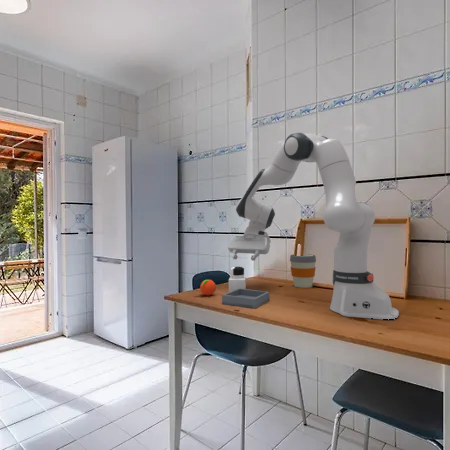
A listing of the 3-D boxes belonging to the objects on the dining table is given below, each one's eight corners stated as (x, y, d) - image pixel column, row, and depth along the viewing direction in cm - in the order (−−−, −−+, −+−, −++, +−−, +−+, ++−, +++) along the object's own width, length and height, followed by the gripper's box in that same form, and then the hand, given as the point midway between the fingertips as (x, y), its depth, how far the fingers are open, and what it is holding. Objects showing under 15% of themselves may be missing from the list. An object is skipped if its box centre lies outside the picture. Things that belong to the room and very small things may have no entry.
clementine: (209, 298, 137) (209, 281, 137) (195, 296, 140) (195, 280, 140) (218, 294, 144) (218, 278, 144) (205, 293, 147) (205, 277, 147)
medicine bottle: (245, 292, 148) (245, 265, 148) (245, 296, 141) (244, 268, 141) (230, 292, 149) (229, 265, 148) (228, 295, 141) (228, 268, 141)
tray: (269, 300, 133) (269, 291, 132) (254, 308, 121) (254, 299, 120) (239, 296, 140) (239, 288, 140) (222, 303, 128) (222, 295, 128)
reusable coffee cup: (320, 285, 161) (320, 255, 161) (308, 289, 152) (307, 257, 152) (298, 282, 170) (298, 253, 170) (285, 286, 161) (284, 255, 161)
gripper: (231, 232, 161) (221, 253, 153) (270, 232, 151) (261, 255, 142) (236, 240, 165) (226, 262, 157) (273, 241, 155) (265, 264, 146)
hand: (243, 259), depth 149 cm, fingers open, 8 cm apart
